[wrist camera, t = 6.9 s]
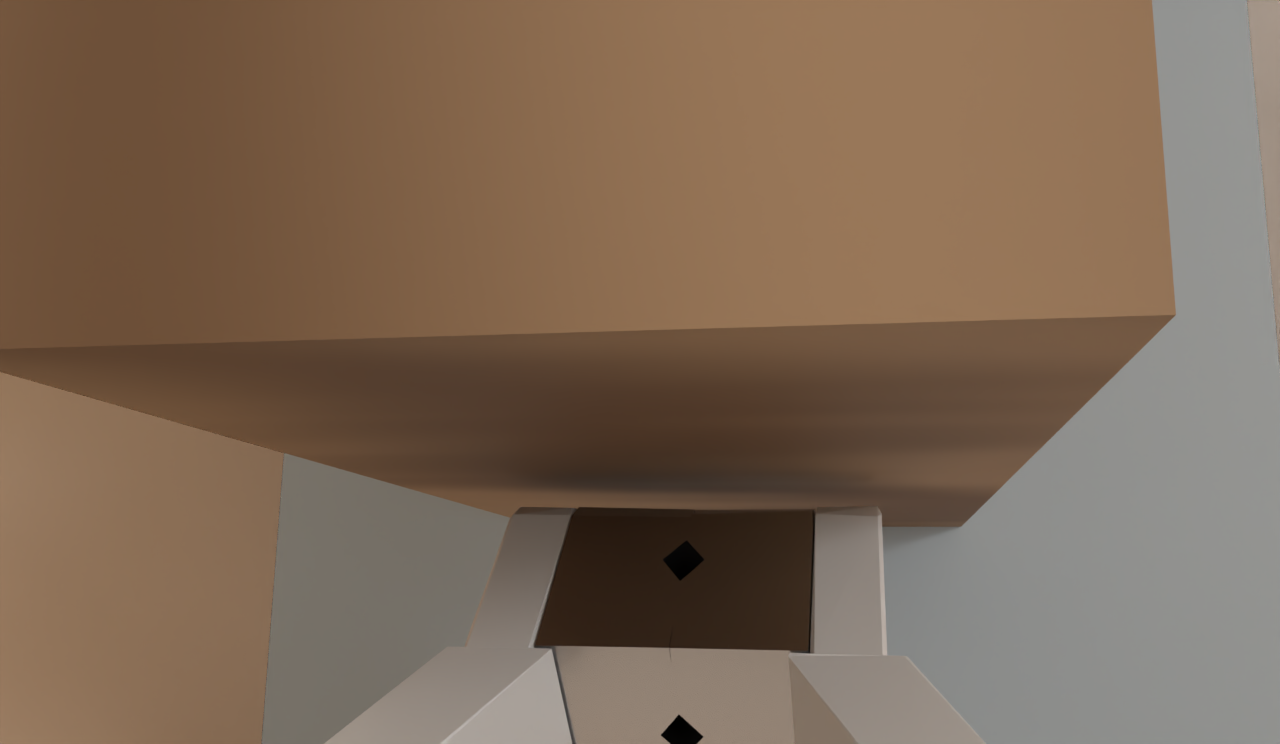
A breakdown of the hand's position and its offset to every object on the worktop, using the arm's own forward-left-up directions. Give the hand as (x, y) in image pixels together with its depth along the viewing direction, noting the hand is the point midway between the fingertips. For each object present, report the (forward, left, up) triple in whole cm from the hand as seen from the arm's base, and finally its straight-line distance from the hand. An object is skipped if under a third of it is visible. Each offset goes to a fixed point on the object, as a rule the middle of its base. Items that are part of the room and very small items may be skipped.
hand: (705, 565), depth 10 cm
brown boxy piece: (0, -5, -4) cm, 6 cm away
